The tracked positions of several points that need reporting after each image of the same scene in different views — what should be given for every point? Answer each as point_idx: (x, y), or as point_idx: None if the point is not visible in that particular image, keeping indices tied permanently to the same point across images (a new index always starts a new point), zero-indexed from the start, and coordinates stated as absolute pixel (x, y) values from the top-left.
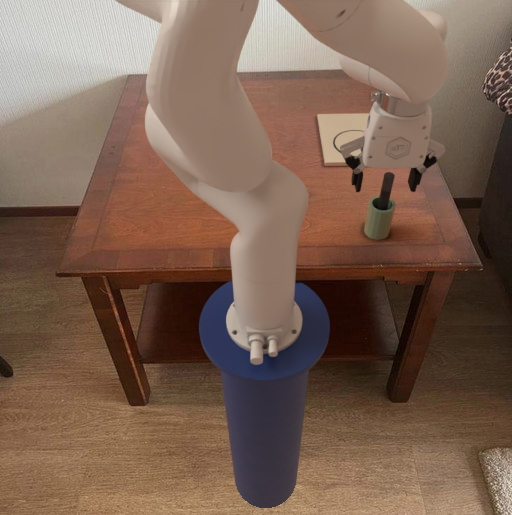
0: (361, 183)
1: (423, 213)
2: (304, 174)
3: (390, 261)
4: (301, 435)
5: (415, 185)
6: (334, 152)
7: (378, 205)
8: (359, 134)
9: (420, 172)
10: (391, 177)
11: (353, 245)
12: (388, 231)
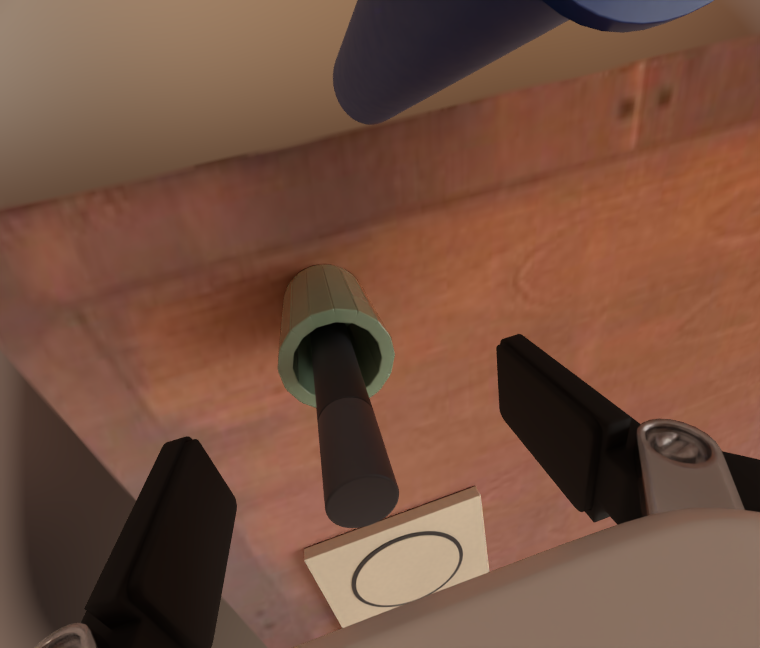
0: (539, 375)
1: (191, 417)
2: (521, 446)
3: (254, 164)
4: (354, 22)
5: (155, 483)
6: (459, 529)
7: (353, 349)
8: (405, 594)
9: (82, 632)
10: (346, 488)
11: (390, 219)
12: (286, 295)
